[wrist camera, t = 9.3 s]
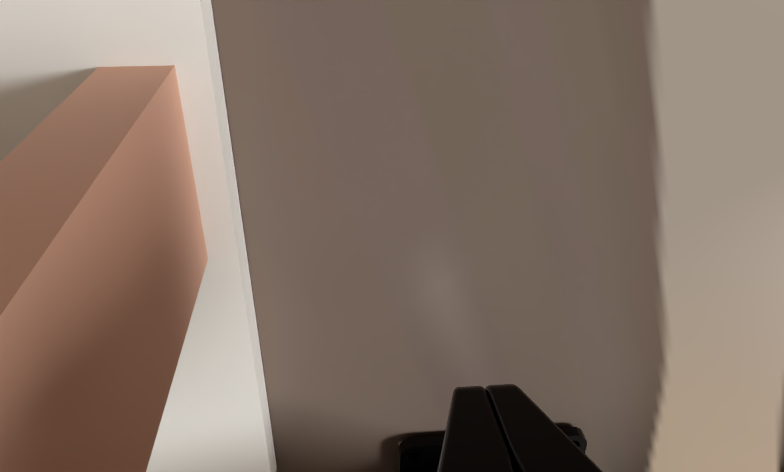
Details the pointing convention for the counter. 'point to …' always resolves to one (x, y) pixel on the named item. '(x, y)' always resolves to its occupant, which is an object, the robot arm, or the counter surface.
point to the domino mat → (214, 191)
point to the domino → (96, 274)
